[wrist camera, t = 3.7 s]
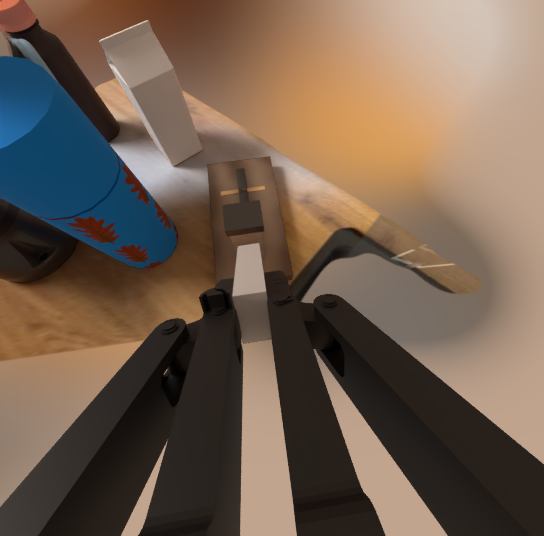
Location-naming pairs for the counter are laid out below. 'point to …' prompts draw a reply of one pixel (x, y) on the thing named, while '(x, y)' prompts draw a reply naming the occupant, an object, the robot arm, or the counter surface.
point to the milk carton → (153, 90)
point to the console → (242, 188)
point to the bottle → (57, 63)
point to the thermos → (73, 171)
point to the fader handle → (244, 223)
